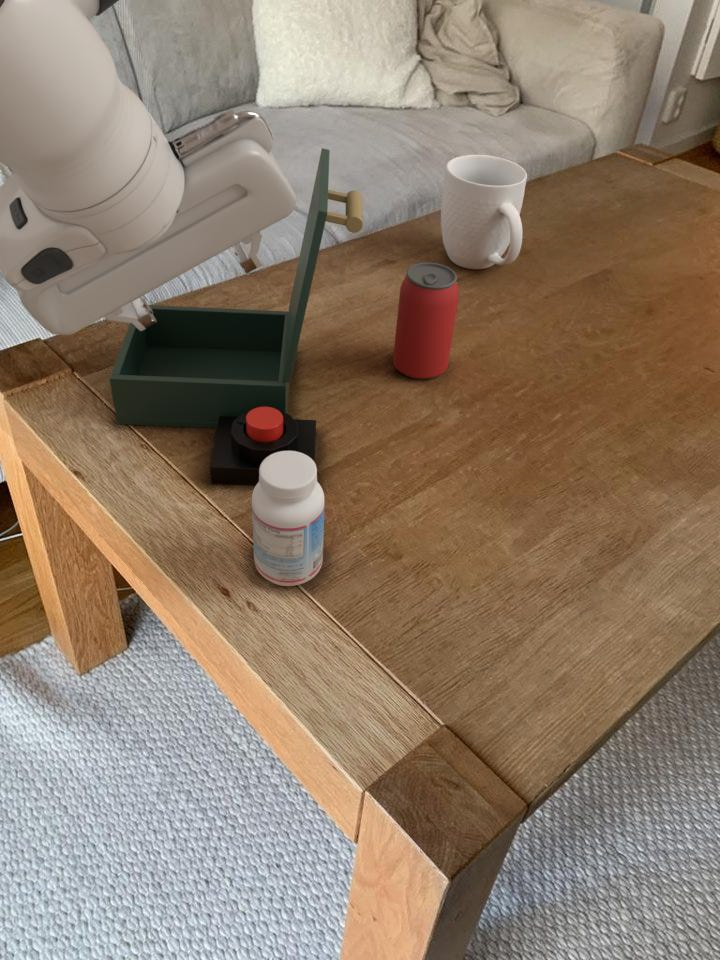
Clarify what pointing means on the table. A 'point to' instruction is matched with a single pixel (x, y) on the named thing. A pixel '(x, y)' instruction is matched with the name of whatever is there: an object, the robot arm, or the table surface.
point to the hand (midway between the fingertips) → (199, 291)
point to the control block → (254, 448)
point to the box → (200, 366)
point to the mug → (482, 210)
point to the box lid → (316, 251)
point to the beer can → (425, 320)
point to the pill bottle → (288, 519)
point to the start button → (264, 424)
